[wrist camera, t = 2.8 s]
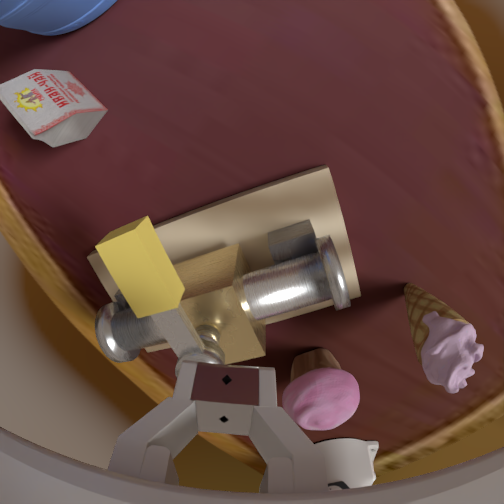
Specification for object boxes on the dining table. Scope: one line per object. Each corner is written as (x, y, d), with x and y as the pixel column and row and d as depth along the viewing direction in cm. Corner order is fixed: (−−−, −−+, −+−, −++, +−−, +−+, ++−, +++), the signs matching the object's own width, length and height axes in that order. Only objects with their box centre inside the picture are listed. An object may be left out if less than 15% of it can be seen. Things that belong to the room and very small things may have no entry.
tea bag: (86, 138, 26) (23, 157, 17) (50, 99, 24) (-17, 107, 15) (108, 110, 25) (46, 117, 16) (69, 71, 23) (3, 68, 14)
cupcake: (268, 353, 37) (268, 419, 28) (331, 322, 35) (348, 388, 26) (301, 389, 40) (307, 449, 31) (358, 364, 38) (375, 424, 29)
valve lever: (232, 365, 22) (230, 386, 20) (193, 373, 22) (188, 393, 20) (150, 214, 17) (138, 227, 15) (107, 233, 17) (92, 247, 16)
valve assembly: (357, 288, 33) (391, 367, 22) (150, 344, 37) (122, 418, 27) (325, 164, 27) (366, 203, 16) (92, 251, 32) (34, 313, 21)
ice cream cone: (371, 291, 33) (420, 395, 19) (408, 250, 31) (480, 341, 17) (406, 316, 34) (454, 411, 21) (440, 279, 32) (505, 365, 19)
